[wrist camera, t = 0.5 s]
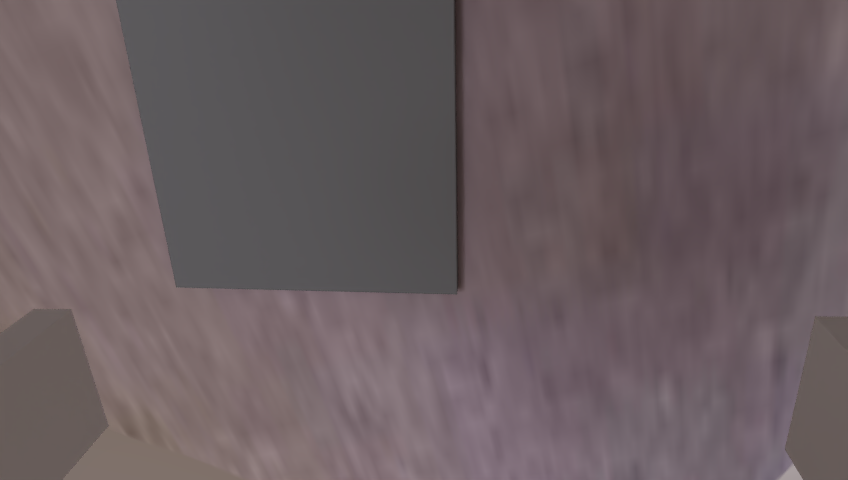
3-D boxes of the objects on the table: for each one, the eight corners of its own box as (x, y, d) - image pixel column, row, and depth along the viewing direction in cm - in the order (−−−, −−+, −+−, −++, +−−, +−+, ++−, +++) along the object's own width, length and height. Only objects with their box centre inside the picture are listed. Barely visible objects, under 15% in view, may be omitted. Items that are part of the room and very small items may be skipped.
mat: (114, -58, 32) (103, -59, 32) (454, -73, 30) (453, -75, 30) (183, 280, 40) (176, 287, 39) (457, 286, 38) (456, 294, 37)
